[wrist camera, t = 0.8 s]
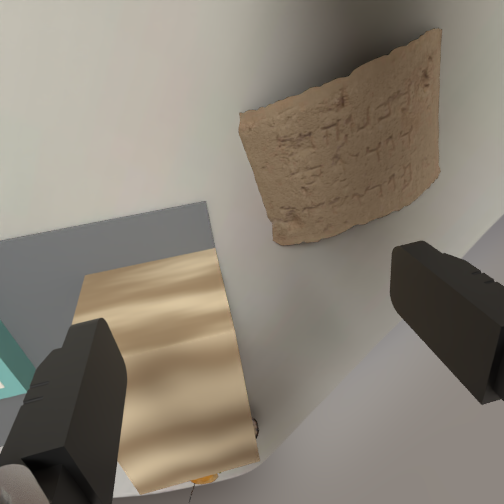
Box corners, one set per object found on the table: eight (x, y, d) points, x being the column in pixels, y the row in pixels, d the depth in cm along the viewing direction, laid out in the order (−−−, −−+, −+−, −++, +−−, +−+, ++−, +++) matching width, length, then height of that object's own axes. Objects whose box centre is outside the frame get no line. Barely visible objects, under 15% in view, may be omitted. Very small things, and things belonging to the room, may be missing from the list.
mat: (-191, 277, 23) (-195, 280, 23) (205, 201, 26) (205, 202, 26) (-12, 447, 36) (-13, 450, 36) (241, 382, 39) (242, 384, 39)
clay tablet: (269, 244, 30) (280, 265, 28) (216, 116, 24) (223, 129, 21) (448, 166, 30) (474, 180, 27) (444, 13, 23) (478, 14, 21)
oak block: (84, 275, 27) (58, 372, 20) (215, 248, 28) (234, 330, 21) (143, 397, 36) (140, 494, 29) (240, 373, 38) (260, 461, 30)
